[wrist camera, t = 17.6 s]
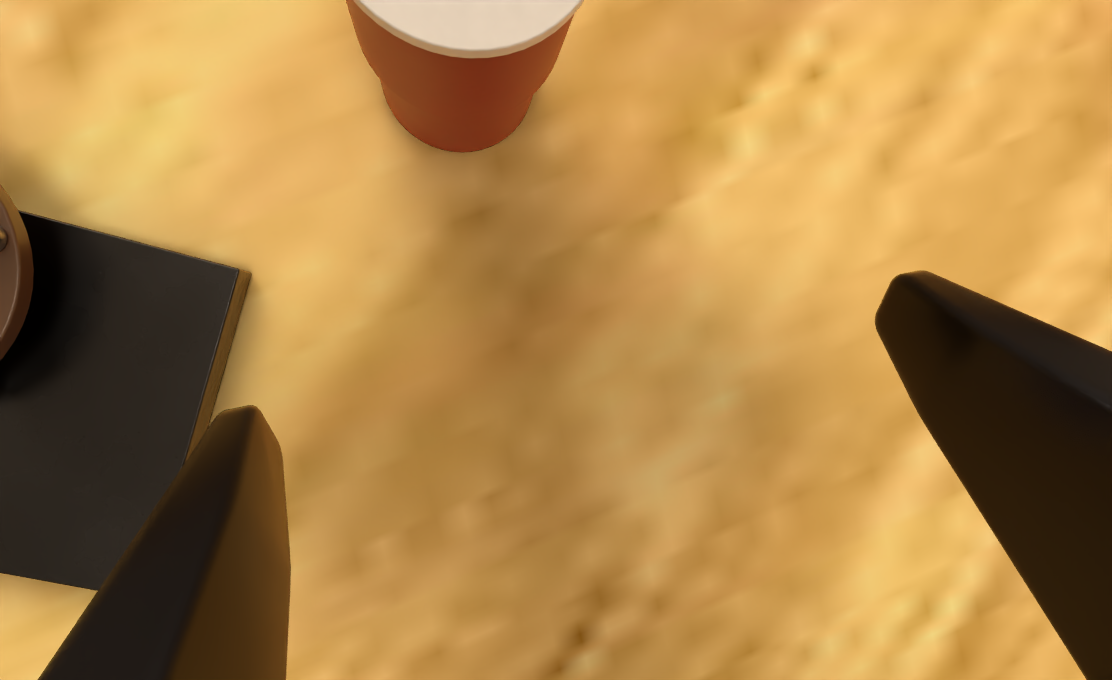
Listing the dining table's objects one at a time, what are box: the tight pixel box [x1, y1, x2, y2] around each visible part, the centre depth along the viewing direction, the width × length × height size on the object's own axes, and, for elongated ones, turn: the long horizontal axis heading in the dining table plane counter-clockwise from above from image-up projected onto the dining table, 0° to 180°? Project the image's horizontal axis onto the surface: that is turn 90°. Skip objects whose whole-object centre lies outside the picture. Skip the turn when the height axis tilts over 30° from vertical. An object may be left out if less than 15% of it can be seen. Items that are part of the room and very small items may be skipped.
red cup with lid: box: [346, 0, 584, 152], centre depth 17 cm, size 6×6×9 cm
